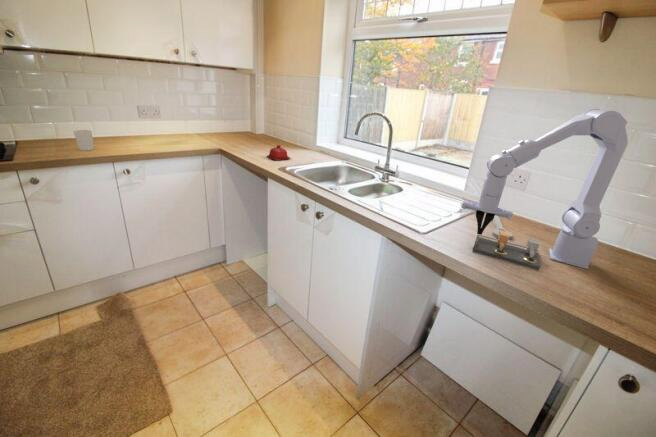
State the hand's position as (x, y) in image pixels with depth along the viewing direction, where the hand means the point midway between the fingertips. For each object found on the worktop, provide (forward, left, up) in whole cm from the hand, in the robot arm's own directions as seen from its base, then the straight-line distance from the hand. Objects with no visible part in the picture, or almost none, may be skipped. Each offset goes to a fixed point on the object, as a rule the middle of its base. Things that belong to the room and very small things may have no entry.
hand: (479, 233), depth 103 cm
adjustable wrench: (-6, -21, -4) cm, 22 cm away
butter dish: (+117, -45, -4) cm, 126 cm away
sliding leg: (-7, +2, -2) cm, 7 cm away
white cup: (+202, +18, -4) cm, 203 cm away
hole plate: (-8, +2, -3) cm, 9 cm away
